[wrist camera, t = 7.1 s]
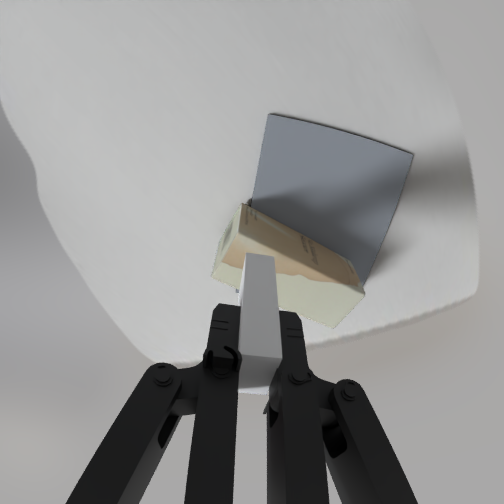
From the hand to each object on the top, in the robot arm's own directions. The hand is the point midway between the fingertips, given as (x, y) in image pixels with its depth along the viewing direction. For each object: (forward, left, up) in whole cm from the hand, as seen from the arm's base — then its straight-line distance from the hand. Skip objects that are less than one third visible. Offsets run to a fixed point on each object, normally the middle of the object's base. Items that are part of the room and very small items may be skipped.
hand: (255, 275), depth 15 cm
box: (+1, -2, -5) cm, 6 cm away
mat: (0, +6, -8) cm, 10 cm away
